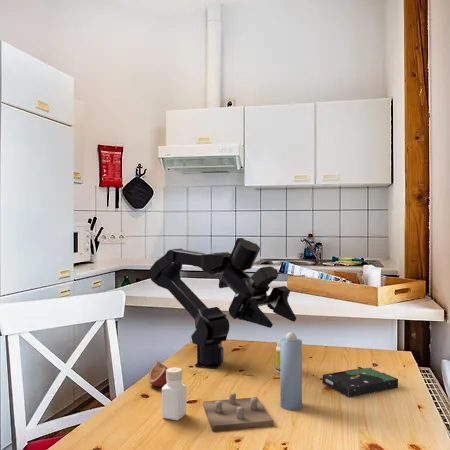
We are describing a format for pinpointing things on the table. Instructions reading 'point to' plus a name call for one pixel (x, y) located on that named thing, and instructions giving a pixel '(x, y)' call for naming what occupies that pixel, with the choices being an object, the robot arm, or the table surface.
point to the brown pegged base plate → (236, 413)
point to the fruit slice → (158, 375)
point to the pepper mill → (291, 372)
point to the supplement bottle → (278, 356)
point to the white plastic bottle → (174, 395)
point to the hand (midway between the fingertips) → (283, 323)
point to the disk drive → (359, 381)
